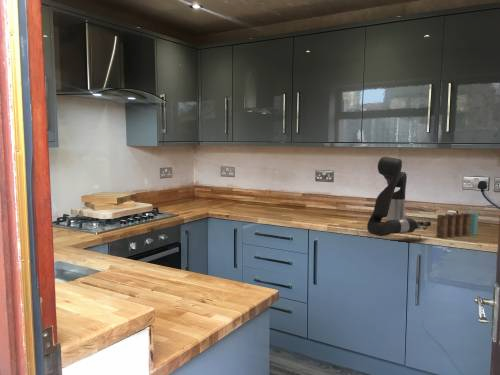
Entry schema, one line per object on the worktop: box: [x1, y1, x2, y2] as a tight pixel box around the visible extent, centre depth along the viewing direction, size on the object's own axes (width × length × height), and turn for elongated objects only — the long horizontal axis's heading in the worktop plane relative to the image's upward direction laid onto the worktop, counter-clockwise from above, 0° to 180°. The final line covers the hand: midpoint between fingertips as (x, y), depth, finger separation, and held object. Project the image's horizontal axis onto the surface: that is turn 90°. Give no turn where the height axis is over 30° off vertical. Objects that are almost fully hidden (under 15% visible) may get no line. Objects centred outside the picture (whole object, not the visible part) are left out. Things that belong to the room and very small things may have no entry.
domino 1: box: [436, 213, 448, 239], centre depth 223 cm, size 5×2×12 cm, turn 22°
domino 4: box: [459, 212, 471, 237], centre depth 229 cm, size 5×2×12 cm, turn 22°
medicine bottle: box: [446, 209, 459, 215], centre depth 240 cm, size 7×7×12 cm
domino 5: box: [467, 211, 479, 236], centre depth 231 cm, size 5×2×12 cm, turn 22°
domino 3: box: [453, 213, 464, 238], centre depth 227 cm, size 5×2×12 cm, turn 22°
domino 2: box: [444, 213, 456, 239], centre depth 225 cm, size 5×2×12 cm, turn 22°
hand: (429, 223), depth 219 cm, fingers closed
